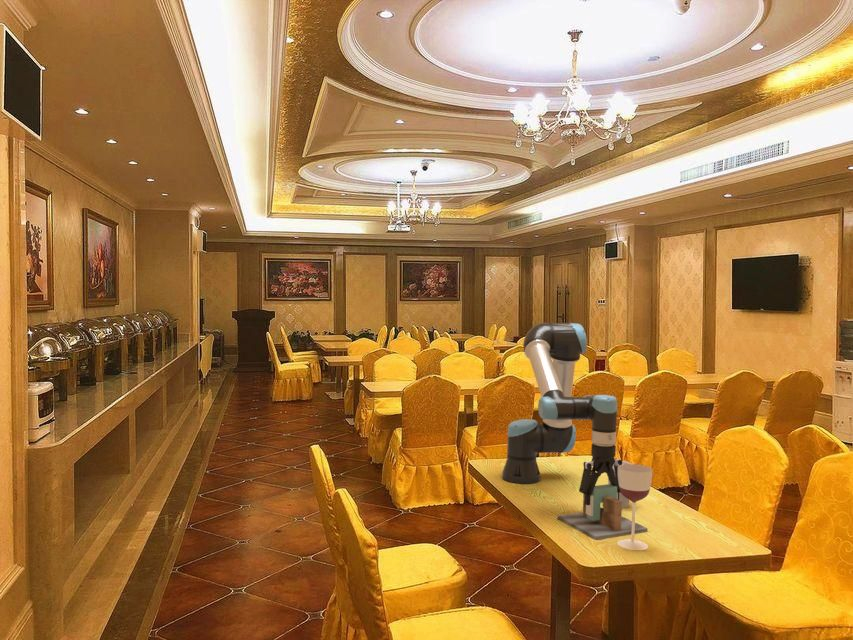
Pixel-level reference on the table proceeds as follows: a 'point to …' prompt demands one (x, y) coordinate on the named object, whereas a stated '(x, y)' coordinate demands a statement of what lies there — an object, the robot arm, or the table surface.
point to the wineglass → (634, 495)
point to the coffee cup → (624, 500)
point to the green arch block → (601, 498)
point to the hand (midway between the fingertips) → (601, 512)
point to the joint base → (603, 521)
